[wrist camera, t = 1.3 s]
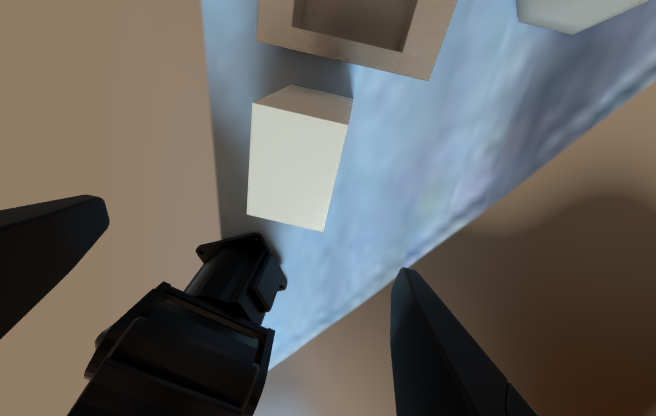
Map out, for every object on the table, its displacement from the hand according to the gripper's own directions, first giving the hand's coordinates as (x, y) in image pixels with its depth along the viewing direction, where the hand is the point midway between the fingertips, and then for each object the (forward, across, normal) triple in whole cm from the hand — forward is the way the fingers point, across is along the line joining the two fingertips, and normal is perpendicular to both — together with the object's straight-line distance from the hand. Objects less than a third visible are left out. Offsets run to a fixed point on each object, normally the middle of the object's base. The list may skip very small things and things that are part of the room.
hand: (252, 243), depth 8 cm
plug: (+12, 0, 0) cm, 12 cm away
